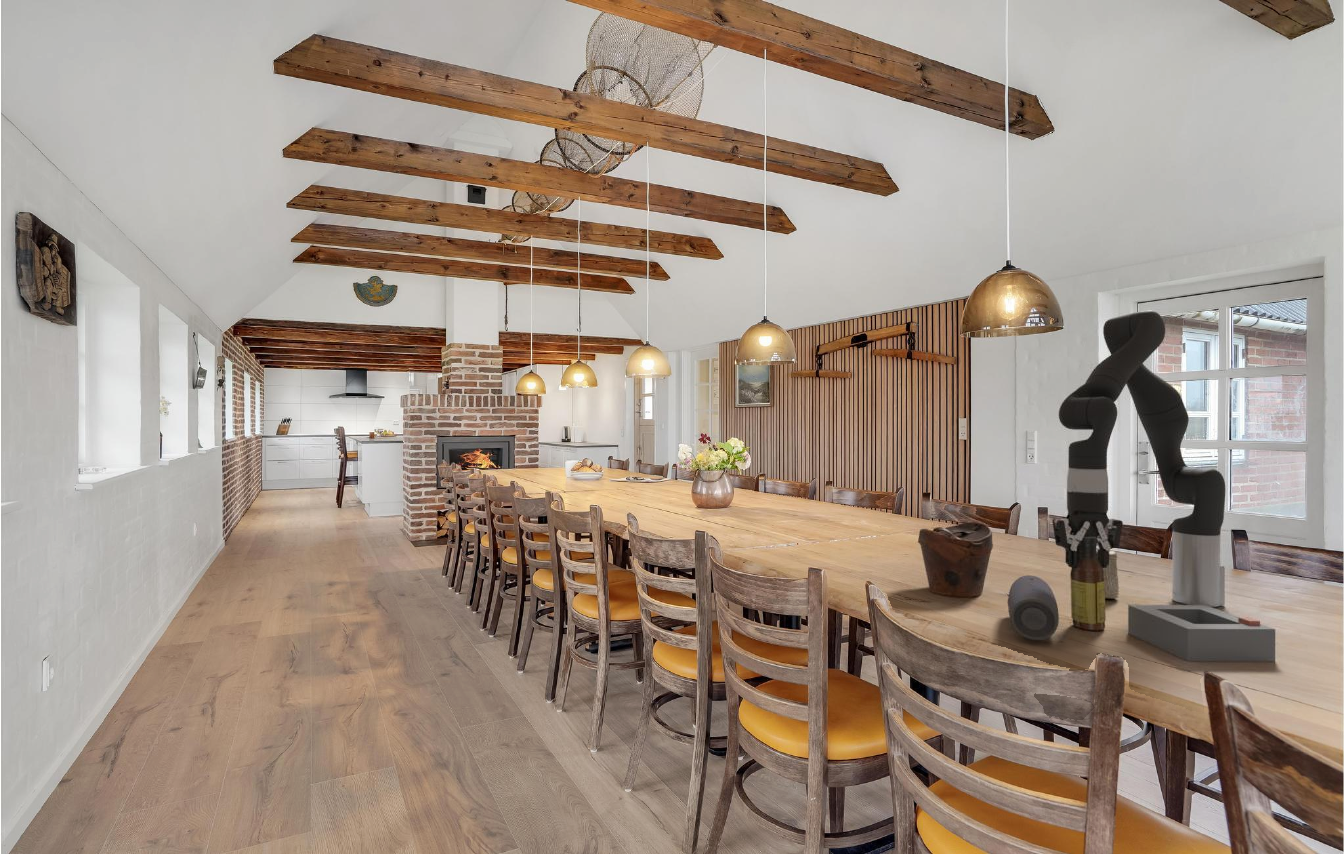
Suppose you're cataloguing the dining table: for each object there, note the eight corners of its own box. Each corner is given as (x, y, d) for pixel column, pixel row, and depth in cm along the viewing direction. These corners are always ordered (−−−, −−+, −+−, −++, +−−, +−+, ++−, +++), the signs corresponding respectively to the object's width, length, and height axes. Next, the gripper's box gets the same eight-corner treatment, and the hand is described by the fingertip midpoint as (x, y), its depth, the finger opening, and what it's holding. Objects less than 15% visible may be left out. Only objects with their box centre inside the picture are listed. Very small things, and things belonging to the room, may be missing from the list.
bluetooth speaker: (1007, 613, 150) (1007, 570, 150) (1054, 619, 146) (1054, 574, 146) (1007, 642, 130) (1007, 593, 130) (1061, 650, 126) (1061, 598, 126)
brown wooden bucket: (908, 594, 167) (909, 524, 167) (927, 579, 184) (928, 516, 183) (984, 606, 157) (985, 532, 157) (997, 589, 173) (998, 523, 173)
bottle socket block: (1205, 633, 136) (1205, 601, 136) (1275, 661, 120) (1275, 624, 120) (1128, 633, 136) (1128, 601, 136) (1187, 661, 120) (1187, 624, 120)
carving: (1110, 594, 167) (1110, 548, 167) (1125, 602, 160) (1125, 554, 160) (1083, 593, 168) (1083, 547, 168) (1096, 601, 161) (1096, 553, 161)
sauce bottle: (1095, 623, 143) (1096, 533, 143) (1111, 632, 137) (1112, 538, 137) (1064, 622, 143) (1065, 532, 143) (1079, 631, 137) (1080, 537, 137)
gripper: (1109, 487, 144) (1109, 563, 144) (1044, 487, 144) (1043, 563, 144) (1133, 491, 136) (1132, 571, 136) (1064, 491, 136) (1063, 571, 136)
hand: (1087, 566), depth 140 cm, fingers closed on sauce bottle, 6 cm apart
